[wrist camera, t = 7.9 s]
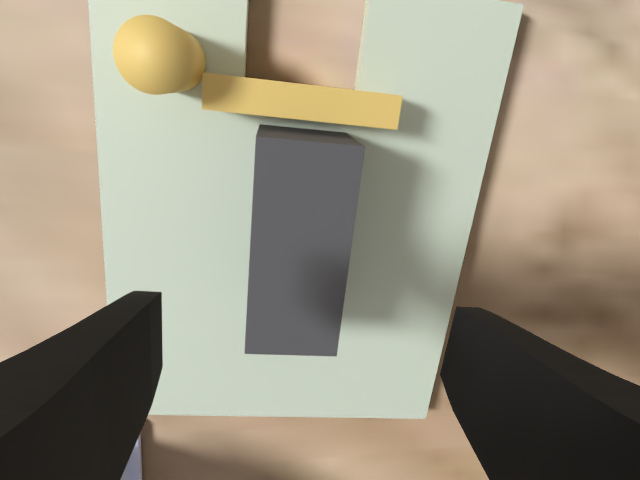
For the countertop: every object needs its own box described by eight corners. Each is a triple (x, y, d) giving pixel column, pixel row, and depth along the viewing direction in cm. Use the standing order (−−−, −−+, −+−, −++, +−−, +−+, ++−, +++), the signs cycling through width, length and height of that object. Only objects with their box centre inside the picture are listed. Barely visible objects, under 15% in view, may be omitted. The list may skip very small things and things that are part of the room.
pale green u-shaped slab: (419, 405, 24) (450, 473, 20) (120, 400, 22) (84, 474, 18) (510, 8, 18) (585, -14, 13) (95, -54, 16) (29, -103, 11)
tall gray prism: (324, 305, 20) (336, 356, 17) (249, 302, 20) (244, 353, 16) (345, 132, 18) (365, 146, 14) (259, 124, 17) (255, 136, 14)
